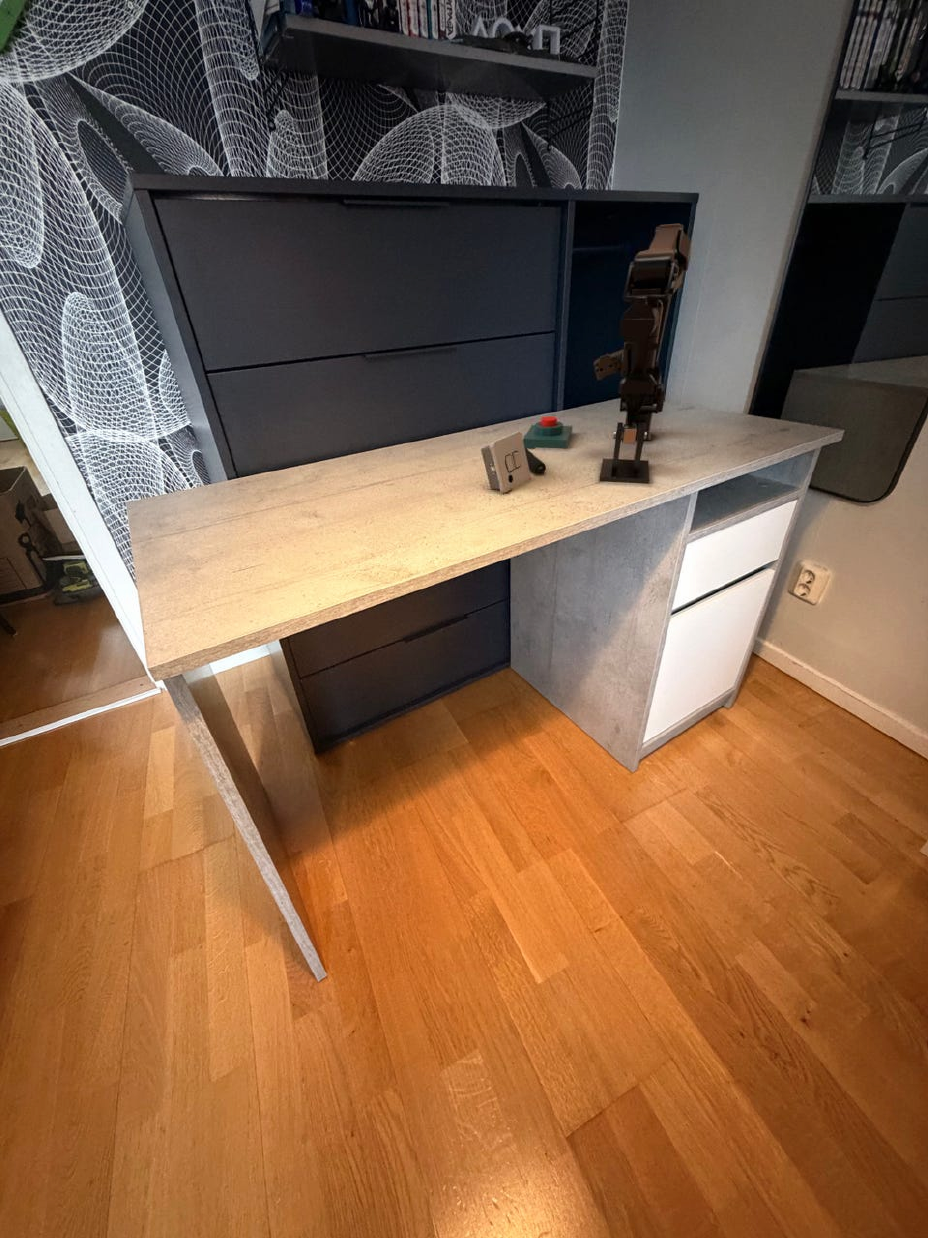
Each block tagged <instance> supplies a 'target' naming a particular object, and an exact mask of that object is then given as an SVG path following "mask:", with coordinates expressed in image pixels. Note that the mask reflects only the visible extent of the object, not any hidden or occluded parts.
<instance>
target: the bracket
mask: <svg viewBox="0 0 928 1238" xmlns="http://www.w3.org/2000/svg"><path fill="white" fill-rule="evenodd" d="M623 426H624V422H623V421H621V422H619V421H618V422H617V425H616V430H614V431H613V435H612V440H615V441H614V446H613V455H612V458H602V462H601V468H600V473H599V482H601V483H602V482H603V483H622V484H641V485H649V483H650V461H649V459H648V460H647V459H641V458H642V452H643V446H644V441H643V440H646V437H647V432H645V423H639V430H638V436H637V441H636V442H635V450H634V456H633V459H627V458H626V459H625V458H620V451H621V443H622V440H621V437H622V429H623Z"/></svg>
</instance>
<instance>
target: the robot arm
mask: <svg viewBox="0 0 928 1238" xmlns="http://www.w3.org/2000/svg"><path fill="white" fill-rule="evenodd" d="M692 241H693V240H692V239H691V238H690V237H689V236H688V235H687V234H686V233H685V232H684V224H681V223H670V224H660V225H659V226H656V227H655V231H654V236H653V238H652V239H651V241H650V242H649V243H648V247H647V249H645V250H641V251H639V252H638V253H637V254H636V255H635V256H634V259H633V261H631V262H629V263H630V264H629V267H628V272H627V277H626V281H625V286H624V290H623V295H622V302H630V307H629V308H628V309H627V310H625V312H624V313H623V315H622V317H621V319H620V322H619V332H620V335H621V337H622V338H623V340H625V341H626V342H625V341H624V344H623V349H621V350H618V351H615V352H612V353H606V354H604V355H600V357H599V358H597V359H595V360H594V362H593V368H594V373H595V376H596V377H595V378H596V380H597V381H600V380H604V379H605V378H606V377H608V376H610V375H613V374H616V373H618V372H620V379H619V383H618V391H617V394H620V405H619V413H623V412H625V413H626V415H625V421H624V424H626V423H627V422H628V423H635V424H636V426H637V433H636V440H635V442H637V436H638V430H639V423H645V432H647V437H646V440H643V442H651V440H652V436H651V432H650V430H651V424H652V419H653V414H656V415H657V414H659V413H662V412H663V411H664V410H663V408H664V404H665V396H666V391H665V389H664V383H662V371H661V368H660V365H659V357H660V353H661V349H662V345H663V339H664V334H665V329H666V325H667V320H668V316H669V315H668V314H669V309H670V305H671V300H672V296H673V295H674V294H675V292H676V291H677V290H678V288H680V286H681V285H682V283H683V279H684V276H685V275H684V274H685V272H687V271H688V270H689V266H690V262H691V261H690V260H691V255H692ZM623 436H624V435H623V434H622V436H621V441H623Z"/></svg>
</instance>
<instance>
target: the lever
mask: <svg viewBox="0 0 928 1238" xmlns="http://www.w3.org/2000/svg"><path fill="white" fill-rule="evenodd" d="M636 433H637V426H636V424H635V423H628V422H627V423H626V424H625V423H623V429H622V434H623V435H624V436H623V440H622V443H623V444H636V441H635V440H636Z"/></svg>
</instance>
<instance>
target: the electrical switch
mask: <svg viewBox="0 0 928 1238" xmlns="http://www.w3.org/2000/svg"><path fill="white" fill-rule="evenodd" d="M480 452H481V455H482V459H483V464H484V467H485V471H486V475H487V479H488V483H489V488H490V490H499V492H501V493H502V494H504V493H508V492H510V491H511V490H513V489H515V488H516V487H518V486H519V485H522V484H523V483H525V482H527V481H528V480H530V479H531V470H529V466H528V462H527V457H526V453H525V448H524V443H523V434H522V433H521V431H514V432H512V433H510V434H508V435H505V436H503V437H501V438H498V439H496V440H494V441H492V442H490V443H489V445H487V446H485V447H482V448H481V449H480Z"/></svg>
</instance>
